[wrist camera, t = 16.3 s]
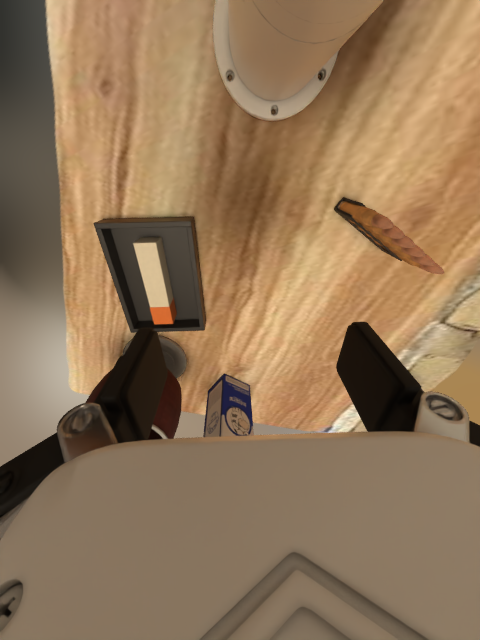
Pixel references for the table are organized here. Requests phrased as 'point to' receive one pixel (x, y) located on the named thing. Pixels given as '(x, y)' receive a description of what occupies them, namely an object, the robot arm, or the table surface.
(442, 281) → the table surface
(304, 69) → the robot arm
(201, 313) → the tray
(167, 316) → the rectangular block
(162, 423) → the mate gourd
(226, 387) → the milk carton
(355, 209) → the ammunition clip
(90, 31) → the table surface
